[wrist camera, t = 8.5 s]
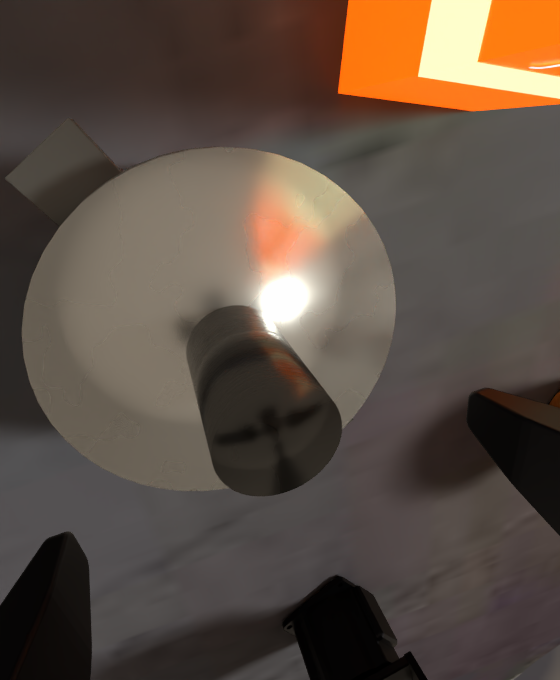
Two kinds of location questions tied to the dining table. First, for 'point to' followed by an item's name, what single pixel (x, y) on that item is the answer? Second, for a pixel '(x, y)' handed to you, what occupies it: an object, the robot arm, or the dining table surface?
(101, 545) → the dining table surface
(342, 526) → the dining table surface
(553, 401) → the disposable coffee cup
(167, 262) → the lid
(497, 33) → the orange juice
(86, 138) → the pot
